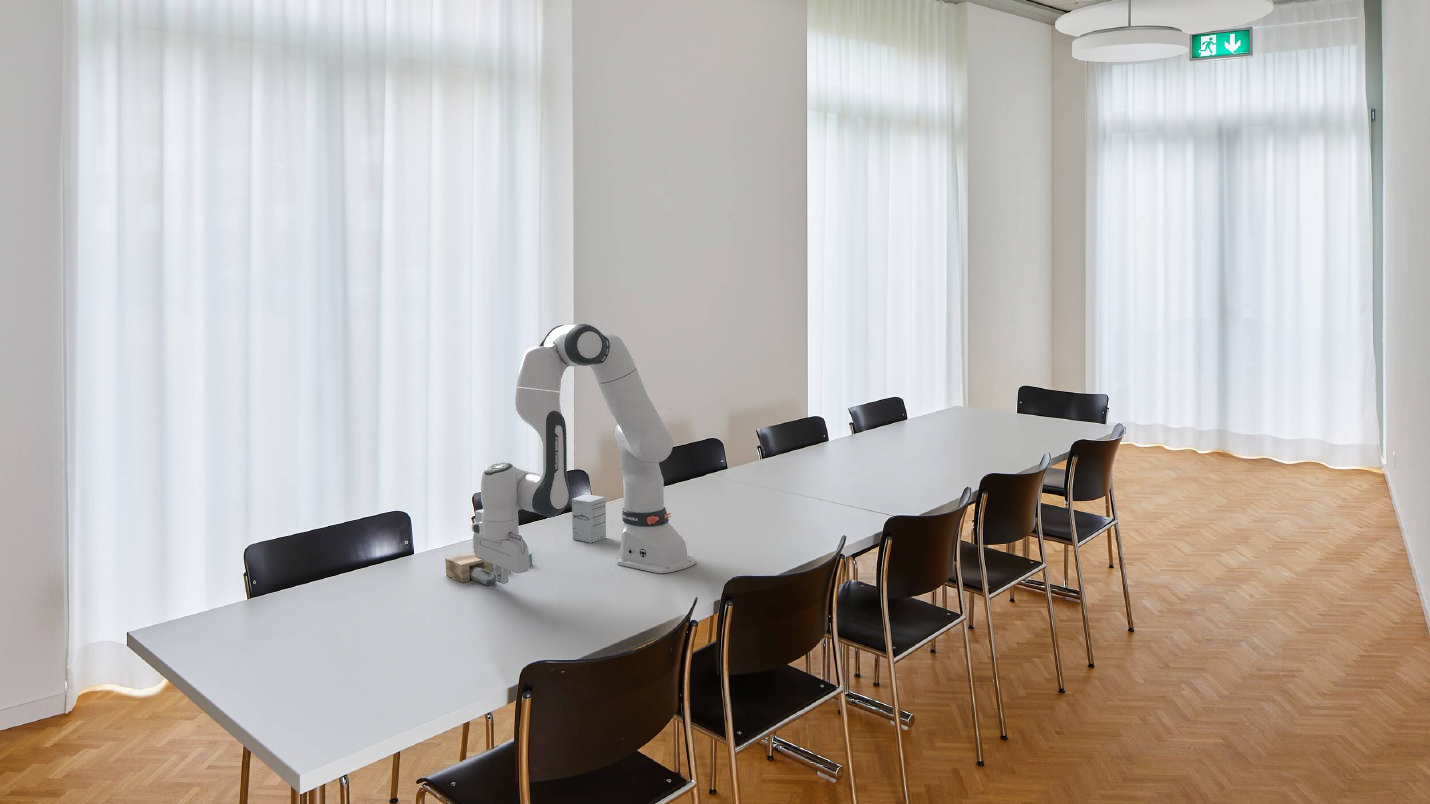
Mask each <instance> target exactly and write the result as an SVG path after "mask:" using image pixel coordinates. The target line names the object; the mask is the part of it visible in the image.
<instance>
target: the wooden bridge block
mask: <svg viewBox="0 0 1430 804" xmlns="http://www.w3.org/2000/svg"><path fill="white" fill-rule="evenodd" d="M470 565H475V566H477V567H480V568H482V569H485V570H487V571H490V572H492V573H493V569H492V564H491V563H489V562H486V561H483V560H481V559H478V558H476V556H475V554H474V551H470V552H466V553H463V554H457V555H454V556H450V557H446V558H445V576H446V575H448V576H449V577H448V576H447V577H448V578H450V577H452V578H451V579H453V578H454V579H453V580H455V579H456V580H455V581H457V580H458V582H460V583H462V582H463V583H466V582H465V581H467V582H470V581H469V580H470V573H469V566H470Z"/></svg>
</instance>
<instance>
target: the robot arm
mask: <svg viewBox="0 0 1430 804" xmlns="http://www.w3.org/2000/svg"><path fill="white" fill-rule="evenodd" d="M579 366H582V367H583V366H585V367H588V366H589V367H590V369H591V370H592V372H593V374H594V377H595V379H596V381H597V384H598V386H599V389H600V391H601V394H602V397H603V399H604V401H605V404H606V407H607V408H608V411H609V412H610V413H611V414H612V416H613V418H614V420H615V421H616V423H617V424H616V426H615V429H614V438H615V439H614V440H615V442H616V445H617V451H618V457H619V458H618V459H619V463H620V469H621V475H622V480H623V481H622V482H623V483H622V484H623V508H622V512H621V517H622V522H623V528H622V532H621V537H620V549H619V556H618V559H617V563H616V564H617V565H618V566H622V567H627V568H631V569H638V570H642V571H646V572H650V573H656V574H666V573H673V572H677V571H682V570H684V569H688V568H690V567H692V566H693V565H695V564H696V563H697V560H696V558H695V557H692V556H691V555H688V551H687V550H688V549H687V544H686V540H685V539H684V538H683V536H682V535H680V534H679V532H678V531H677V530H676V529H675V528H674V527H673V526H672V525H671V524H670V523H671V522H669V520H670V519H669V518H672V516H671V514H672V513H671V512H669V513H667V508H666V506H665V494H664V493H665V490H664V488H665V483H664V481H665V480H664V477H663V474H662V470H661V467H660V463H662V462H664V461H665V460H666V459H668V458H669V456H670V455H671V453H672V451H673V446H674V445H673V444H674V443H673V438H672V435H671V434H670V432H669V431H668V429H667V428H666V427H665V424H664V422H663V420H662V418H661V417H660V415H659V412H658V411H657V409H656V408H655V406H654V404H653V403H652V401H651V399H650V396H649V395H648V393H647V391H646V388H645V386H644V384H643V381H642V379H641V377H640V374H639V371H638V368H637V366H636V363H635V362H634V359H633V357H632V355H631V353H630V351H629V349H628V348H627V346H626V345H625V343H624V341H623V340H622V339H621V337H619V336H618V335H615V334H603V333H602V332H601V331H600V330H599V329H598V328H597V327H595V326H593V325H591V324H587V323H576V322H575V323H573V322H572V323H571V322H570V323H567V324H561V325H557V326H554V327H553V328H551V329H550V330H549V331H548V332H547V333H546V334H545V336H544V338H543V340H542V342H541V343H540V344H539V345H538V346H537V345H536V346H532V347H530V348H528V349H527V350H526V351H525V352H524V354H523V358H522V360H521V363H520V366H519V371H518V376H517V382H516V388H515V400H514V402H515V403H514V404H515V410H516V412H517V414H518V415H519V417H520V419H521V420H523V421H524V422H525V424H527V425H529V426H530V427H531V428H533V429H534V430H535V431H536V432H537V433H538V435H539V437H540V438H541V443H542V474H540V473H536V472H533V471H528V470H523V469H520V468H518V467H515V466H514V465H513V464H512V463H509V462H500V463H499V462H498V463H494V464H490V465H489V466H488V467H486V468H485V469H484V470H483V473H482V477H481V483H480V484H481V485H480V500H481V505H482V509H483V514H482V521H481V522H477V523H476V522H474V523H472V524H471V531H472V532H473V535H472V544H473V546H472V548H473V552H474V554H475V556H476V558H478V559H481V560H483V561H486V562H489V563H491V564H493V569H494V570H493V569H492V570H493V573H495V574H496V582H497V583H500V584H502V585H503V584H504V585H505V584H509V576H510V574H511V572H512V573H513V574H517V575H518V574H522V573H527V572H528V571H529V570H530V568H531V564H530V561H529V552H530V551H529V547H528V545H527V543H526V541H525V539H524V538H523V536H522V535H520V532H519V513H518V512H519V510H524V511H527V512H532V513H535V514H538V515H540V516H543V517H546V518H554V517H557V516H559V515H560V514H561V513H562V512H563V511H564V510H565V509H567V508H566V507H567V506H568V505H569V501H570V499H571V497H570V496H571V491H570V486H569V481H568V463H567V462H568V456H567V455H568V447H567V446H568V445H567V426H566V425H567V423H566V420H565V418H564V416H563V414H562V410H561V401H560V400H561V399H560V398H561V386H562V385H561V384H562V379H563V375H564V372H565V371H566V369H567V368H568V367H579Z"/></svg>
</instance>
